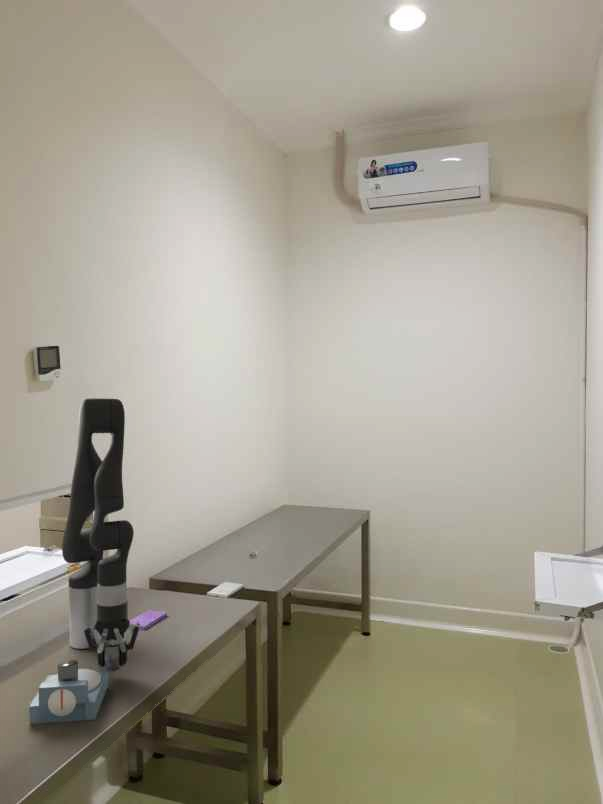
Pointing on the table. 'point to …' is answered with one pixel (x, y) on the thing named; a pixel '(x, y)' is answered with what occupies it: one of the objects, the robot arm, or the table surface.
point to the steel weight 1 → (68, 670)
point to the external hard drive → (225, 589)
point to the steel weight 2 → (112, 656)
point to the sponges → (148, 619)
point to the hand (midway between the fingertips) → (112, 665)
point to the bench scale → (69, 698)
